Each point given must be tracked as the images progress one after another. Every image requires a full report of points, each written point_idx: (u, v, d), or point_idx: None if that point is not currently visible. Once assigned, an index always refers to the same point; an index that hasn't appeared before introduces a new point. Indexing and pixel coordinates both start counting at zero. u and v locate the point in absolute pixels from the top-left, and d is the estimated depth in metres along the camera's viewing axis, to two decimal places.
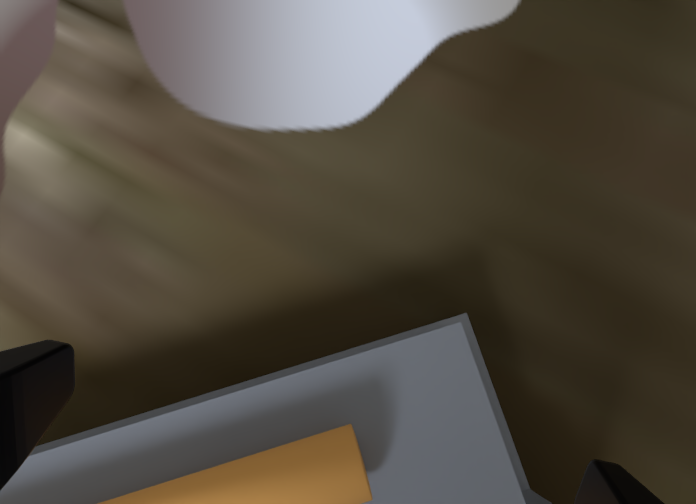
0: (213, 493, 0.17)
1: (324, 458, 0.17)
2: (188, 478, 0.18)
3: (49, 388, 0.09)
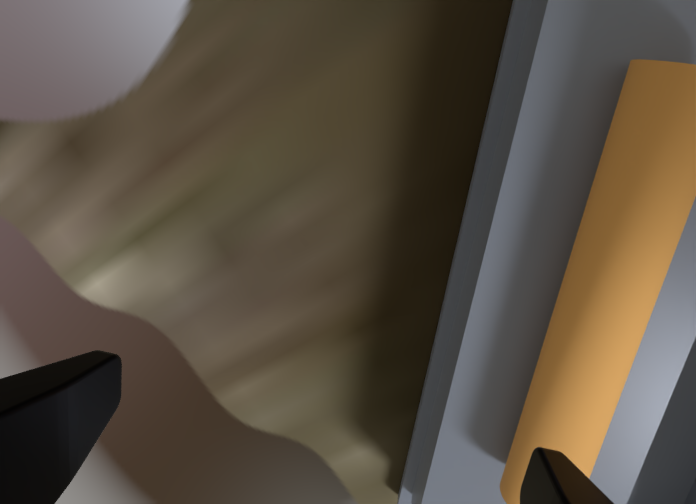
0: (617, 249, 0.14)
1: (666, 108, 0.13)
2: (577, 268, 0.15)
3: (99, 399, 0.09)
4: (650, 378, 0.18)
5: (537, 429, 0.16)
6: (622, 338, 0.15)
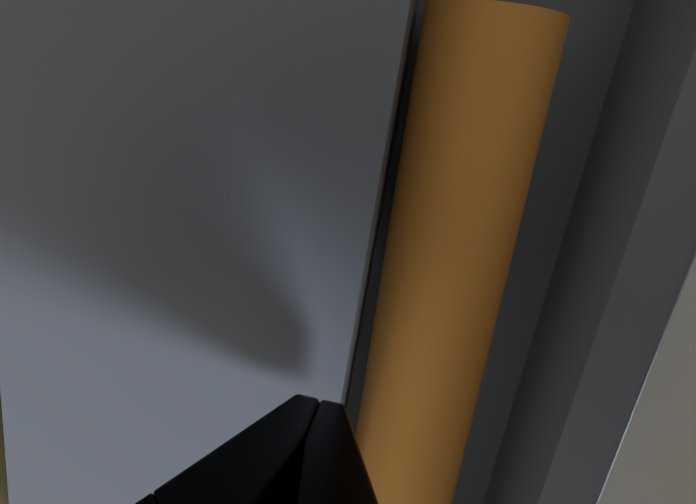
0: None
1: None
2: None
3: None
4: None
5: None
6: (373, 368, 0.11)
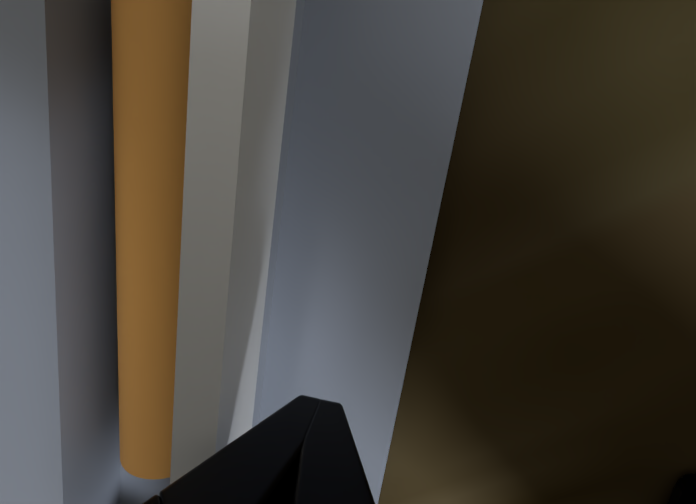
0: None
1: None
2: None
3: None
4: (29, 335, 0.15)
5: None
6: (118, 262, 0.15)
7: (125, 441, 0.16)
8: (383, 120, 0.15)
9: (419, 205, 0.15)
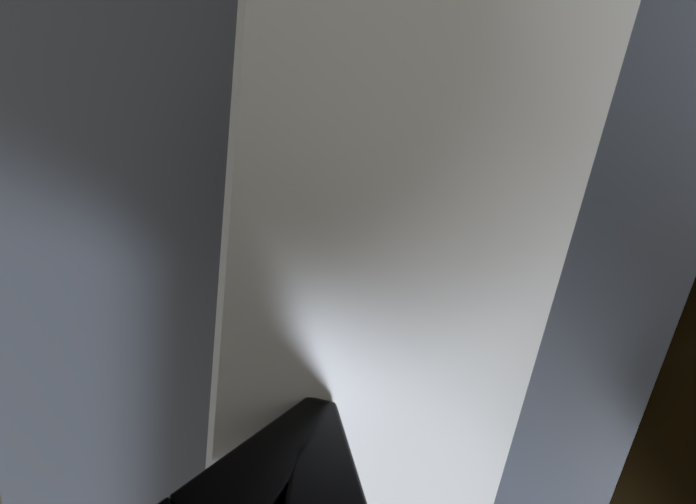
0: None
1: None
2: None
3: None
4: None
5: None
6: None
7: None
8: (642, 169, 0.12)
9: (673, 265, 0.13)
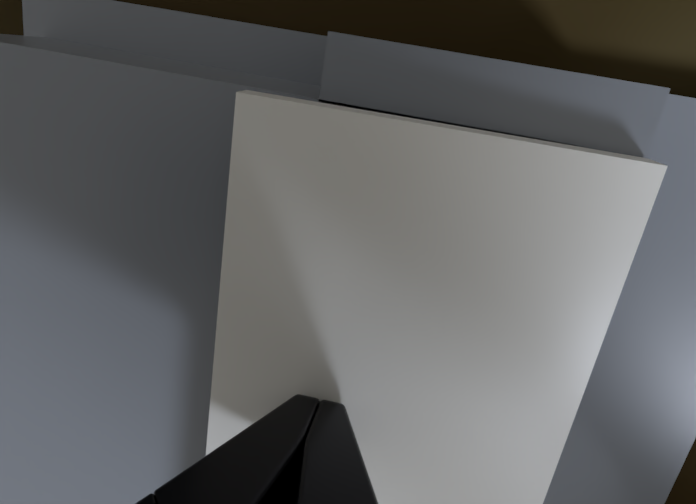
0: None
1: None
2: None
3: None
4: None
5: None
6: None
7: None
8: (597, 453, 0.13)
9: None
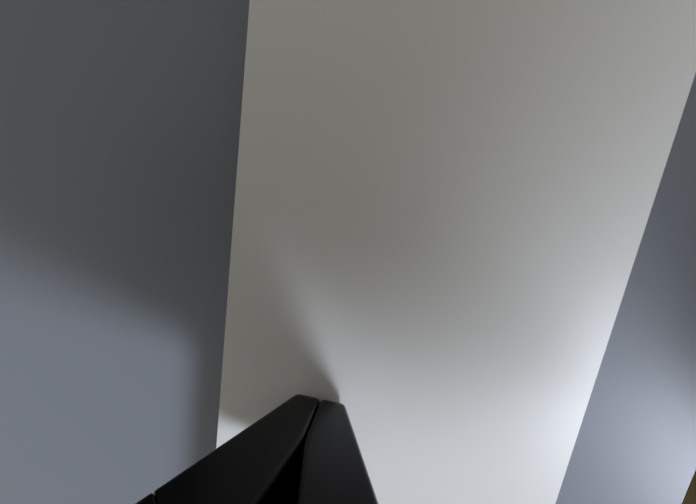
0: None
1: None
2: None
3: None
4: None
5: None
6: None
7: None
8: None
9: None
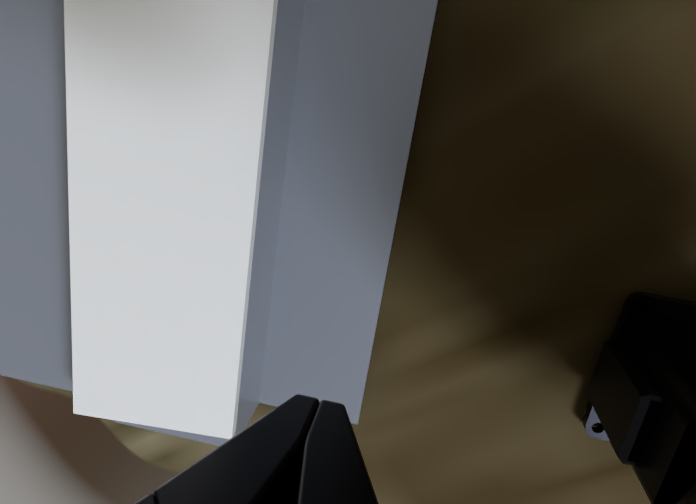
0: None
1: None
2: None
3: None
4: None
5: None
6: None
7: None
8: None
9: (410, 53, 0.18)
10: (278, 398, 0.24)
